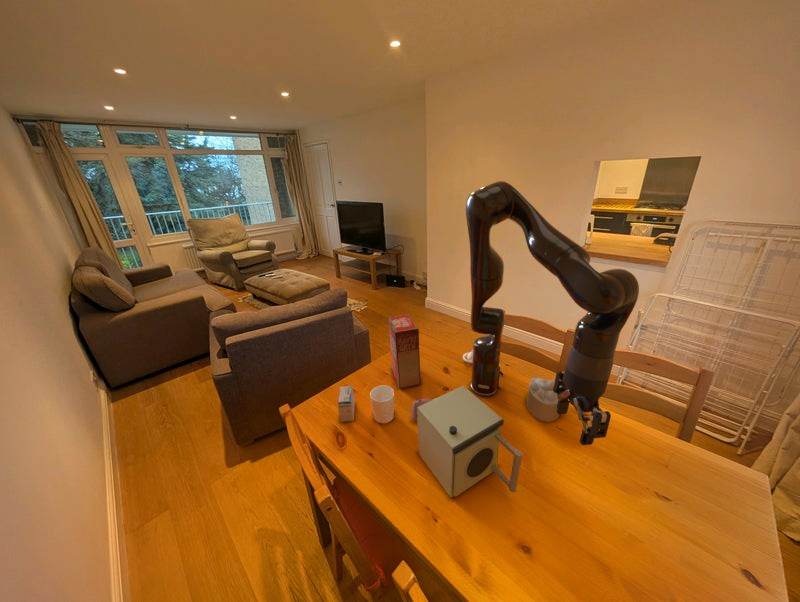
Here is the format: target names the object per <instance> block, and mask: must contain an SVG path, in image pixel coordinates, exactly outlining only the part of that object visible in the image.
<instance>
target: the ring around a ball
mask: <svg viewBox="0 0 800 602" xmlns="http://www.w3.org/2000/svg"><path fill="white" fill-rule="evenodd" d="M462 360H463V361H464V362H465V363H467V364H471V365H472V363H473V349H471V351H470V352H465V353H464V354H463V355H462Z"/></svg>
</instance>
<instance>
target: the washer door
mask: <svg viewBox="0 0 800 602" xmlns="http://www.w3.org/2000/svg"><path fill="white" fill-rule="evenodd" d="M500 433H502V429H501V430H500V429H499V428H498V429H496V430H495V431H493V432H491V433H490V434H488V435H486V436H485V437H483V438H481V439H480V440H478V441H476V442H475V443H473V444H471V445H470V446H468V447H466V448H465V449H463V450H461V451H460V452H458V453H456V454H455V468H454V496H453V497H458V496H459V495H461V494H462V493H463V492H465V491H466V490H468V489H469V488H471V487H472V486H474V485H475V484H477V483H478V482H480V481H481V480H482V479H484V478H486V477H487V476H489V475H490V474H492V473H493V472H494V473H495V474H496V476H498V477H499V479H501V481H502V482H503V483H504V484H505V485H506V487H508V490H509V491H510V493H513V494H514V493H516V492H517V486H518V482H519V475H520V468H521V465H522V464H521V463H522V458H523V452H522V451H521V450H519V449H516V448H515V447H514V446H513V445H512V444H510V442H509V441H508V440H507V439H506V438H504V437H503V436H502V435H501V434H500ZM500 444H501V445H502V446H503V447H504V448H505V449H506V450H508V451H509V452H510V453H511V454H512V455H513V461H512V467H511V473H510V479H509V478H508V477H507V476H506V475H505V474H504V473H503V472H502V471H501V470H500V469H499V467H498V458H497V457H499V450H500ZM498 449H499V450H498ZM496 465H497V466H496Z"/></svg>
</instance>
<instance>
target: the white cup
mask: <svg viewBox="0 0 800 602" xmlns="http://www.w3.org/2000/svg"><path fill="white" fill-rule="evenodd" d="M369 397H370V402H371V408H372V414H373V417H374V420H375V421H376V422H377V423H379V424H388V423H389V422H392V420H393V419H394V417H395V416H394V415H395V391H394V389H393V387H391V386H390V385H387V384H386V385H385V384H382V385H377V386H375V387H374V388H372V389H371V390H370V393H369Z"/></svg>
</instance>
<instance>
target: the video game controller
mask: <svg viewBox="0 0 800 602" xmlns="http://www.w3.org/2000/svg"><path fill="white" fill-rule="evenodd" d="M431 400H433V399H432V398H420V399H416V400H414V401H413V403H412V405H411V420H412V422H413V423H414V422H415V421H416V419H417V407H419V406H421V405H423V404H425V403H427V402H429V401H431Z"/></svg>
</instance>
